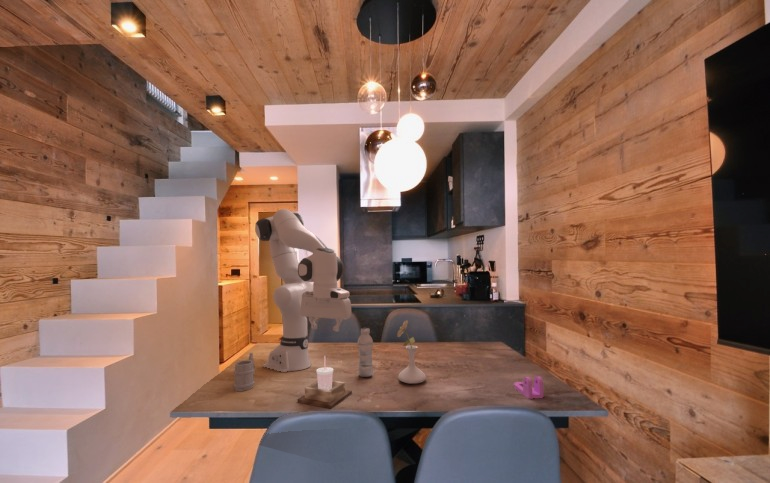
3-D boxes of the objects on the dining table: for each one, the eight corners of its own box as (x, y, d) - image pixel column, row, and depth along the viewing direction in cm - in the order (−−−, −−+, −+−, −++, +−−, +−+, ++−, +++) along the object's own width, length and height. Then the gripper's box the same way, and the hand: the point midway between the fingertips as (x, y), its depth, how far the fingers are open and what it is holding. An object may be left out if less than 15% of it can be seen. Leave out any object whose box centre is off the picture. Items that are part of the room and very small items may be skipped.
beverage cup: (333, 397, 125) (333, 357, 125) (315, 398, 124) (315, 358, 125) (333, 391, 131) (333, 353, 131) (317, 392, 130) (316, 353, 131)
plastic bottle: (371, 379, 146) (371, 330, 147) (356, 378, 147) (355, 330, 148) (375, 374, 152) (374, 327, 153) (360, 373, 154) (359, 327, 154)
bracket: (543, 398, 125) (543, 378, 125) (528, 399, 124) (528, 379, 124) (524, 385, 137) (524, 367, 138) (511, 385, 137) (510, 367, 137)
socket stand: (297, 402, 124) (297, 389, 124) (320, 388, 136) (320, 376, 137) (331, 408, 118) (331, 394, 118) (351, 393, 131) (351, 381, 131)
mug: (229, 391, 135) (229, 359, 135) (244, 380, 146) (244, 351, 147) (248, 392, 134) (248, 360, 134) (262, 381, 146) (262, 351, 146)
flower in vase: (410, 374, 151) (409, 316, 152) (432, 381, 143) (430, 319, 144) (389, 382, 142) (388, 320, 143) (410, 389, 134) (409, 323, 135)
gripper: (296, 291, 130) (296, 329, 130) (344, 294, 122) (344, 334, 121) (307, 290, 136) (306, 326, 136) (353, 292, 128) (353, 330, 127)
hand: (325, 330), depth 128 cm, fingers open, 8 cm apart
